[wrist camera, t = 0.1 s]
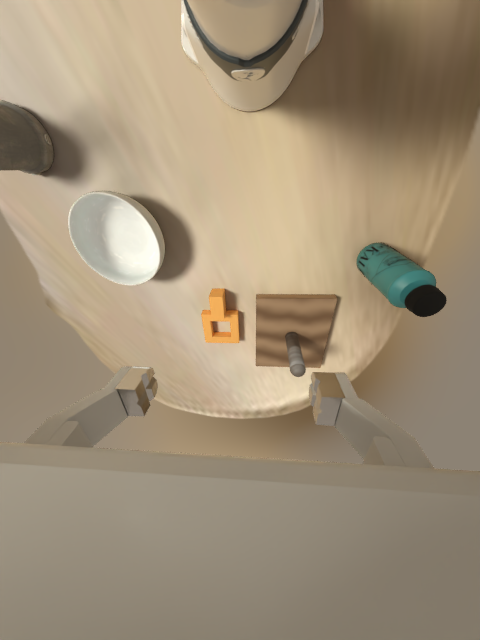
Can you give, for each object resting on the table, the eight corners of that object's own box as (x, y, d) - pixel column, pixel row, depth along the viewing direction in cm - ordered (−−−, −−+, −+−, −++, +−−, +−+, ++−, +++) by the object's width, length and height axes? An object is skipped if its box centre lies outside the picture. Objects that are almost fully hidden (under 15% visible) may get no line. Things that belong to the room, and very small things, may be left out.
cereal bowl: (74, 217, 45) (47, 224, 39) (131, 168, 39) (109, 168, 34) (134, 284, 53) (118, 298, 47) (188, 251, 47) (178, 263, 42)
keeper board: (256, 294, 52) (255, 332, 40) (334, 294, 50) (358, 333, 39) (255, 360, 64) (255, 404, 52) (318, 362, 63) (332, 408, 51)
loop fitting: (199, 288, 52) (195, 296, 49) (237, 288, 51) (235, 296, 48) (207, 337, 61) (204, 347, 57) (239, 338, 60) (238, 348, 57)
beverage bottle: (390, 260, 45) (465, 312, 29) (357, 276, 48) (408, 333, 31) (382, 232, 42) (459, 273, 26) (347, 250, 45) (398, 298, 28)
